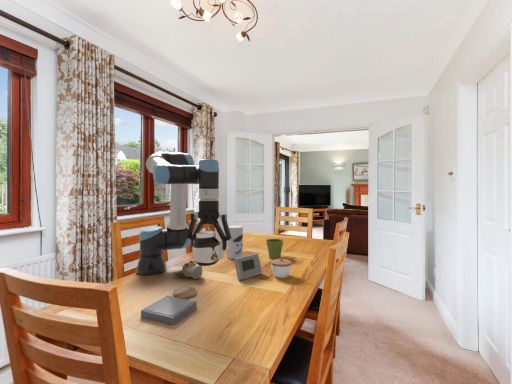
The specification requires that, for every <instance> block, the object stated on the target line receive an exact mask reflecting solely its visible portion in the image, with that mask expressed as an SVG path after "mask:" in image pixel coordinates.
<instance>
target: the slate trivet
mask: <svg viewBox="0 0 512 384" xmlns="http://www.w3.org/2000/svg"><path fill="white" fill-rule="evenodd" d="M195 309H197V301H196V300H191V299H188V298H187V299H182V298H177V297H173V295H172V296H171V295H165V296H164V297H162V298H160V299H159V300H156V301H155V302H152V303H151V304H150V305H148V306H146V307H144V308H142V309H141V310H140V317H141V318H142V319H147V320H150V321H154V322H159V323H164V324H166V325H170V326H174V325H175V324H177V323H178V322H179V321H180V320H182V319H184V318H185V317H187V315H189V314H190V313H192V311H194V310H195Z"/></svg>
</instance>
